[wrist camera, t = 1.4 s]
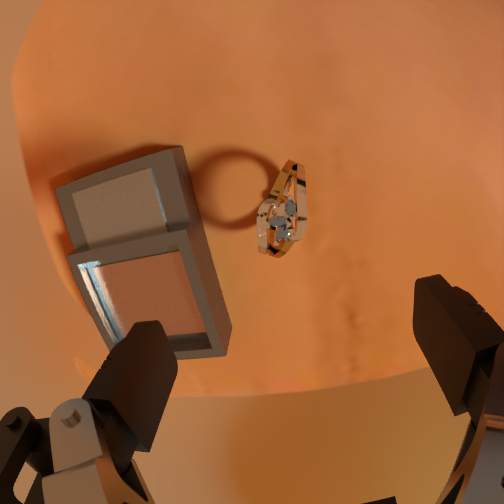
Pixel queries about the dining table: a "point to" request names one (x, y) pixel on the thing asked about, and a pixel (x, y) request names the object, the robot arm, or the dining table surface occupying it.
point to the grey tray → (146, 254)
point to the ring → (283, 212)
